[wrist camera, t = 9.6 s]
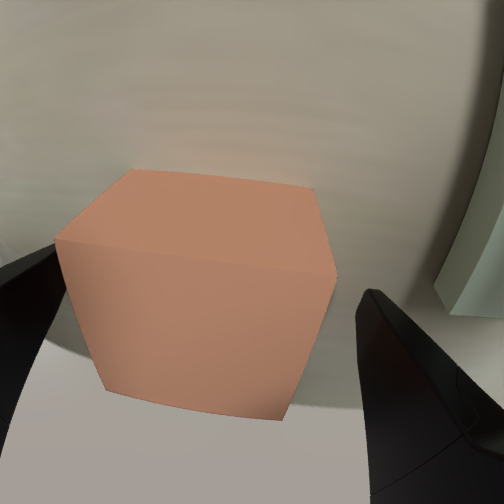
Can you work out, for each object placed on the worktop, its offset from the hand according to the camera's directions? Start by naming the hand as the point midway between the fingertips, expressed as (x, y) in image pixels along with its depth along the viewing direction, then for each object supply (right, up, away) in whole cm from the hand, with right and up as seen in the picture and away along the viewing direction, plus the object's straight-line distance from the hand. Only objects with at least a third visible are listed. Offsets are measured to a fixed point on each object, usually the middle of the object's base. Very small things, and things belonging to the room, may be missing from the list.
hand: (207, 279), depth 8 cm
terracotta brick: (0, +1, +1) cm, 1 cm away
